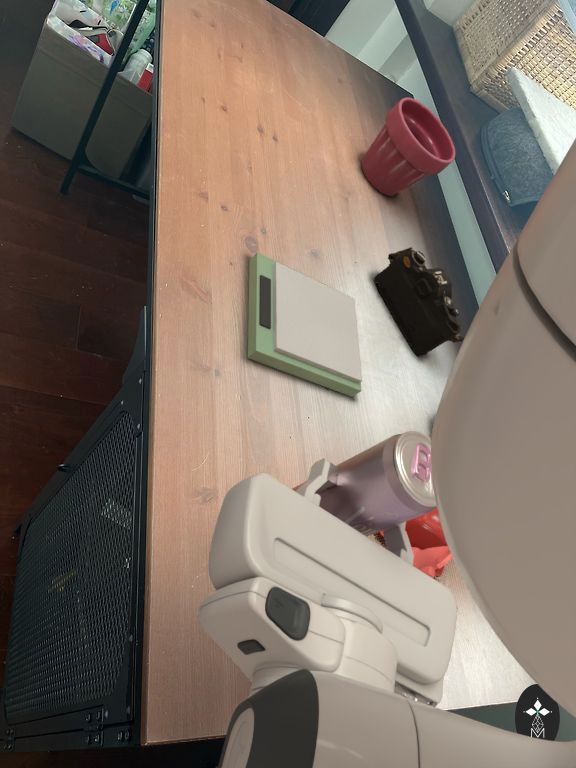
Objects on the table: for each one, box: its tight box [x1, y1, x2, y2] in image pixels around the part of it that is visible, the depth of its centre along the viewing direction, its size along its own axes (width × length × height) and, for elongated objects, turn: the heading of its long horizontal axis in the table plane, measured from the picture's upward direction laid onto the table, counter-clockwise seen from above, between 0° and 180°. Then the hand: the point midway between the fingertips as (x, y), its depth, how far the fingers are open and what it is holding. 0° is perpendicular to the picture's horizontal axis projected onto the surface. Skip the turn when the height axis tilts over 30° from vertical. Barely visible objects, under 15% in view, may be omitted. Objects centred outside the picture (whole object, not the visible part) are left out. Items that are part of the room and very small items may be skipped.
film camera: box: [373, 246, 465, 357], centre depth 99 cm, size 18×12×10 cm
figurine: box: [411, 546, 453, 579], centre depth 66 cm, size 5×5×15 cm
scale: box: [246, 252, 363, 398], centre depth 83 cm, size 17×16×3 cm
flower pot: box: [360, 97, 456, 197], centre depth 113 cm, size 14×14×13 cm
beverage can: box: [291, 430, 437, 537], centre depth 49 cm, size 6×6×15 cm
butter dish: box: [379, 508, 448, 577], centre depth 78 cm, size 12×12×8 cm
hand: (360, 487), depth 49 cm, fingers closed on beverage can, 6 cm apart
